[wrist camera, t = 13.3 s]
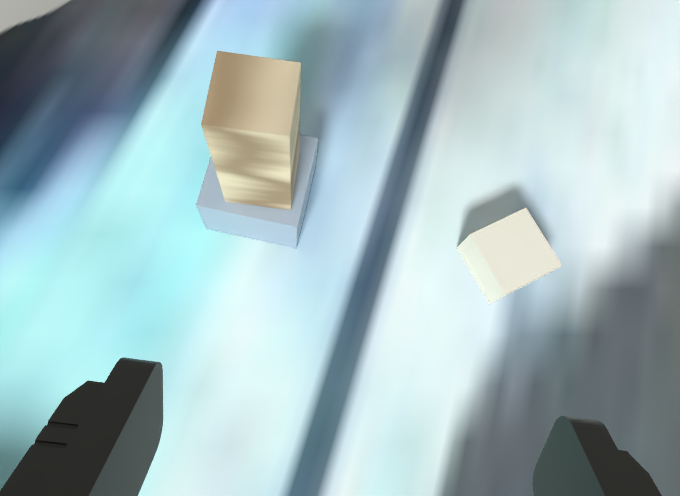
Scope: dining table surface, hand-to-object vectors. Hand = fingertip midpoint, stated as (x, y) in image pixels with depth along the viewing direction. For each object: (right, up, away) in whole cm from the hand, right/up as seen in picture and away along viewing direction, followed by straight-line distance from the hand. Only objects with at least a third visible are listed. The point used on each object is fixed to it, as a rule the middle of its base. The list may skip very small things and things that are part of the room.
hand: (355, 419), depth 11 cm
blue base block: (-6, +7, +32) cm, 33 cm away
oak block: (-6, +9, +27) cm, 29 cm away
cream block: (+12, +2, +32) cm, 34 cm away
